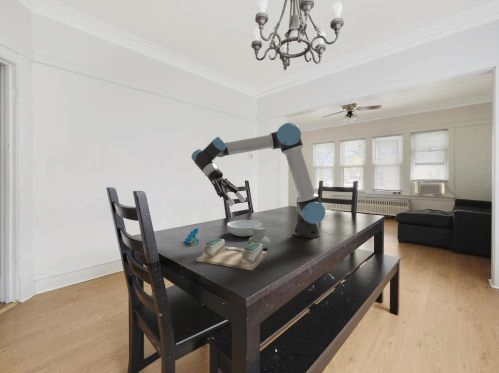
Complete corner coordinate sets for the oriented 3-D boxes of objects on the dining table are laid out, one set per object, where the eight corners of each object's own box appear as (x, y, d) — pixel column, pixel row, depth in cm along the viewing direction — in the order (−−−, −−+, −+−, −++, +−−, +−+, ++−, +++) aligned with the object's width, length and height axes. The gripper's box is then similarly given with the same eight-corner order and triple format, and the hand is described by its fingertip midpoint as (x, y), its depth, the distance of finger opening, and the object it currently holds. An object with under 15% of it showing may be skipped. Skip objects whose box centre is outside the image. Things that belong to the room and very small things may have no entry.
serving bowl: (221, 238, 134) (221, 226, 133) (234, 229, 154) (234, 219, 153) (256, 240, 128) (256, 228, 127) (265, 231, 148) (264, 220, 147)
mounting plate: (267, 254, 106) (267, 241, 105) (252, 270, 89) (252, 254, 89) (217, 248, 116) (217, 235, 115) (196, 260, 99) (195, 246, 99)
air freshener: (245, 247, 117) (245, 227, 116) (256, 243, 122) (256, 225, 122) (261, 252, 109) (261, 231, 108) (272, 248, 115) (272, 228, 114)
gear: (183, 237, 130) (196, 224, 130) (191, 243, 132) (204, 231, 132) (183, 246, 119) (197, 232, 120) (192, 252, 121) (205, 238, 122)
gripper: (220, 177, 136) (244, 204, 131) (195, 179, 113) (222, 211, 108) (228, 168, 134) (252, 195, 129) (204, 168, 111) (232, 200, 106)
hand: (238, 203), depth 118 cm, fingers open, 13 cm apart
